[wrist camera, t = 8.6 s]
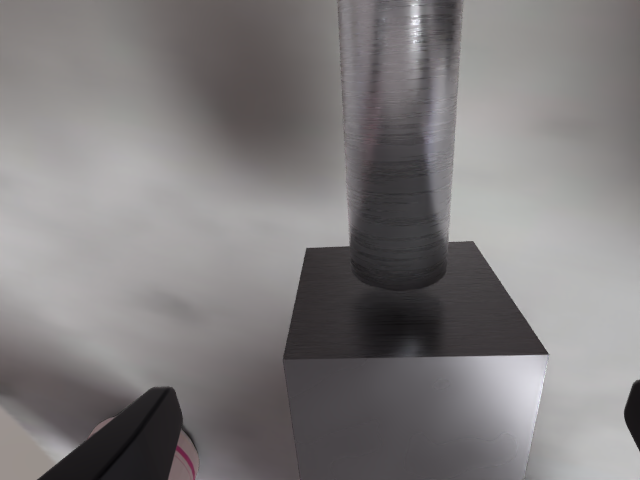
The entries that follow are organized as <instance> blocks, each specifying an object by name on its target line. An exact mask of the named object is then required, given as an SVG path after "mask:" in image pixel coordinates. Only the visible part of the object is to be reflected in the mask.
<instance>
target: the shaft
mask: <svg viewBox="0 0 640 480" xmlns="http://www.w3.org/2000/svg"><path fill="white" fill-rule="evenodd" d="M337 4H338V23H339V43H340V63H341V83H342V103H343V123H344V143H345V163H346V183H347V203H348V222H349V242H350V246H347V247H323V248H306V252H305V257H304V262H303V267H302V271H301V276H300V281H299V286H298V290H297V295H296V300H295V305H294V310H293V314H292V319H291V324H290V329H289V333H288V338H287V343H286V348H285V352H284V357H283V363H284V370H285V377H286V384H287V391H288V398H289V405H290V411H291V418H292V425H293V432H294V439H295V446H296V453H297V460H298V467H299V473H300V480H524V477H525V472H526V468H527V463H528V458H529V453H530V448H531V443H532V438H533V433H534V428H535V423H536V418H537V413H538V408H539V403H540V398H541V393H542V388H543V384H544V379H545V374H546V369H547V364H548V359H549V354H548V352H547V351H546V349H545V348H544V346H543V345H542V343H541V342H540V340H539V339H538V337H537V336H536V334H535V333H534V331H533V330H532V328H531V327H530V325H529V324H528V322H527V321H526V319H525V318H524V316H523V315H522V313H521V312H520V310H519V309H518V308H517V306H516V305H515V303H514V302H513V300H512V299H511V297H510V296H509V294H508V293H507V291H506V290H505V288H504V287H503V285H502V284H501V282H500V281H499V279H498V278H497V276H496V275H495V273H494V272H493V270H492V269H491V267H490V266H489V264H488V263H487V261H486V260H485V258H484V257H483V255H482V254H481V252H480V251H479V249H478V248H477V246H476V245H475V243H474V242H473V241H466V242H448V239H449V222H450V206H451V190H452V174H453V158H454V141H455V125H456V109H457V93H458V77H459V61H460V44H461V28H462V12H463V0H337Z"/></svg>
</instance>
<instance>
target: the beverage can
mask: <svg viewBox="0 0 640 480" xmlns="http://www.w3.org/2000/svg"><path fill="white" fill-rule="evenodd" d="M113 418H115V417H112V418H108V419H106V420H105V421H103V422H101V423H99V424H98V425H97V426H96V427H95V428H94V429H93V431H92V432H91V434H90V435H89V437H88V438H90V437H91V436H92V435H93V434H95V433H96V432H97V431H98V430H100V429H101V428H102V427H103V426H105V425H106V424H107V423H108V422H110V421H111V420H112V419H113ZM88 438H87V439H88ZM198 470H199V457H198V453H197V451H196V449H195V447H194V445H193V443H192V441H191V439H190V438H189V437H188V436H187V435H186V433H185V432H184V431H183V430H181V432H180V436H179V440H178V444H177V447H176V451H175V455H174V459H173V463H172V466H171V470H170V474H169V478H168V480H195V478H196V475H197V472H198Z"/></svg>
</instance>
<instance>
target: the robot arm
mask: <svg viewBox="0 0 640 480" xmlns="http://www.w3.org/2000/svg"><path fill="white" fill-rule="evenodd" d="M624 418H625V422H626V425H627V427H628V429H629V431H630V433H631V435H632V437H633V439H634V441H635V443H636V445H637V447H638V449H639V451H640V380H637V381H635V382H634V383H633V385H632V388H631V391H630V394H629V397H628V400H627V403H626V406H625V410H624ZM182 423H183V417H182V412H181V409H180V406H179V402H178V399H177V396H176V392H175V390H174V389H173V388H172V387H153V388H151V389H150V390H148V391H147V392H146V393H144V394H143V395H142V396H141V397H139V398H138V399H137V400H136V401H134V402H133V403H132V404H131V405H129V406H128V407H127V408H126V409H125V410H123V411H122V412H121V413H120V414H118V415H117V416H116V417H115V418H113V419H112V420H111V421H110V422H108V423H107V424H106V425H105V426H103V427H102V428H101V429H100V430H98V431H97V432H96V433H95V434H93V435H92V436H91V437H90V438H88V439H87V440H86V441H85V442H83V443H82V444H81V445H80V446H78V447H77V448H76V449H75V450H73V451H72V452H71V453H70V454H68V455H67V456H66V457H65V458H63V459H62V460H61V461H60V462H59V463H57V464H56V465H55V466H54V467H52V468H51V469H50V470H49V471H47V472H46V473H45V474H44V475H43V476H41V477H40V478H39V479H37V480H168V478H169V474H170V470H171V466H172V463H173V459H174V455H175V451H176V447H177V444H178V440H179V436H180V432H181V428H182Z"/></svg>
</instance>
